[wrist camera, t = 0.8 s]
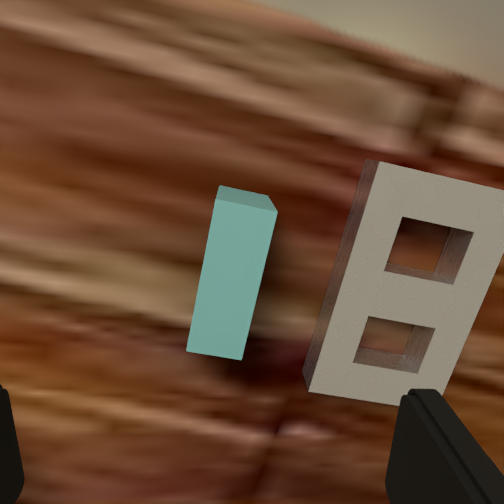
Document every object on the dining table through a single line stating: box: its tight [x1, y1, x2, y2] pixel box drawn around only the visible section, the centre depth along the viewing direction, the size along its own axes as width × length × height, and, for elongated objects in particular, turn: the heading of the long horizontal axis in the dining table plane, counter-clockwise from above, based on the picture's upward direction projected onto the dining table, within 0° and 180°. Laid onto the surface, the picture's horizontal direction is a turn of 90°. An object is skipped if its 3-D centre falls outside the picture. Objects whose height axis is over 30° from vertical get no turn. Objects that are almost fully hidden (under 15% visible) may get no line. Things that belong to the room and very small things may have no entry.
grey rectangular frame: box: [302, 159, 504, 406], centre depth 32 cm, size 20×12×3 cm, turn 167°
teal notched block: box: [186, 185, 278, 360], centre depth 28 cm, size 11×4×7 cm, turn 168°
